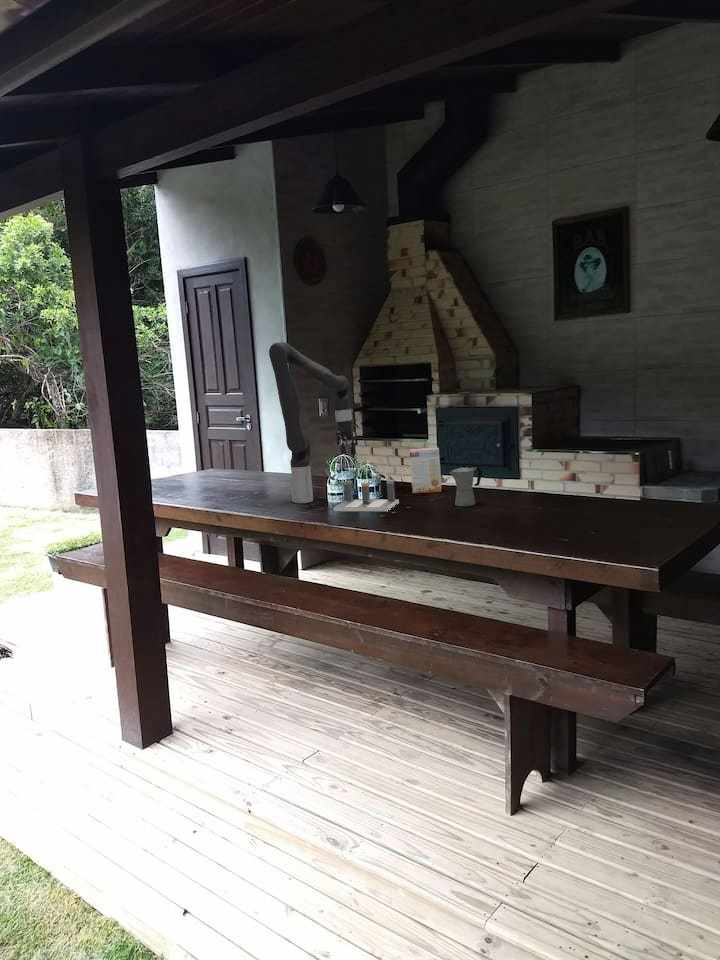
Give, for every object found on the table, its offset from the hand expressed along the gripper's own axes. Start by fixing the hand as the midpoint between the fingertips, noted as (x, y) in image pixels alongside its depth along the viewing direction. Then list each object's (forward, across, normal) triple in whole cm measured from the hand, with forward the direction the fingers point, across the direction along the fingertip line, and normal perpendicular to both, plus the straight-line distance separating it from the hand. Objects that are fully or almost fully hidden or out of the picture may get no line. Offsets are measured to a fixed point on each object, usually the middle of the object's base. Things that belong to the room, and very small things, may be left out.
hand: (348, 454), depth 345 cm
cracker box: (+24, +11, +34) cm, 43 cm away
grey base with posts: (+22, +16, -4) cm, 28 cm away
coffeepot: (+25, +47, +28) cm, 60 cm away
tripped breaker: (+20, +16, -4) cm, 26 cm away
